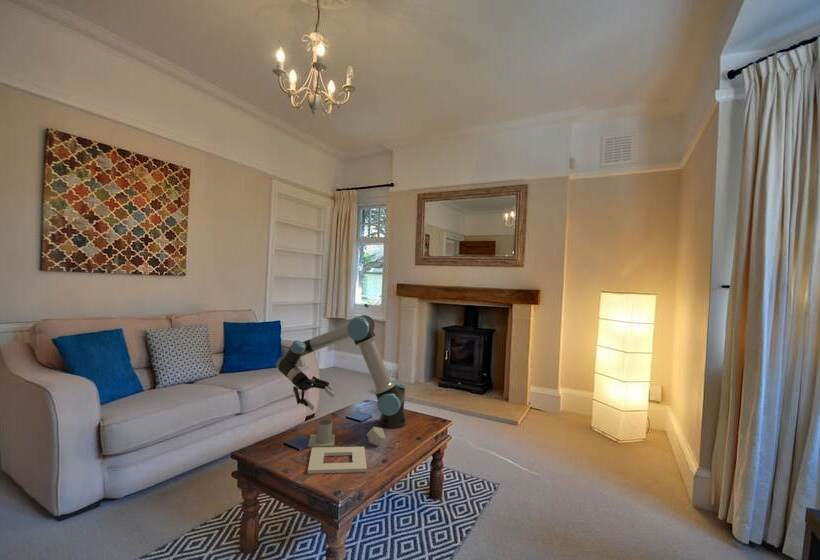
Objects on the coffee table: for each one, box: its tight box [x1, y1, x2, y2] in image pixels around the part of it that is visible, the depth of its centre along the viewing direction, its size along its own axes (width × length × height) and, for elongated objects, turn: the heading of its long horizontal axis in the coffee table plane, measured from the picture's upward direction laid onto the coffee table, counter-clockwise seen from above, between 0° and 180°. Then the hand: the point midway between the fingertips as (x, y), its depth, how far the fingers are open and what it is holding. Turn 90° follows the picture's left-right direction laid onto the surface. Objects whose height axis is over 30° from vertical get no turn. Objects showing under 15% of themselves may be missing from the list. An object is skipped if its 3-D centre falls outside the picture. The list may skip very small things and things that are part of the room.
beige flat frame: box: [307, 446, 368, 475], centre depth 161 cm, size 24×20×2 cm
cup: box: [316, 418, 333, 443], centre depth 179 cm, size 7×10×9 cm
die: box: [366, 425, 386, 447], centre depth 180 cm, size 8×9×10 cm
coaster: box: [307, 433, 336, 448], centre depth 179 cm, size 12×12×1 cm
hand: (323, 402), depth 188 cm, fingers open, 13 cm apart
